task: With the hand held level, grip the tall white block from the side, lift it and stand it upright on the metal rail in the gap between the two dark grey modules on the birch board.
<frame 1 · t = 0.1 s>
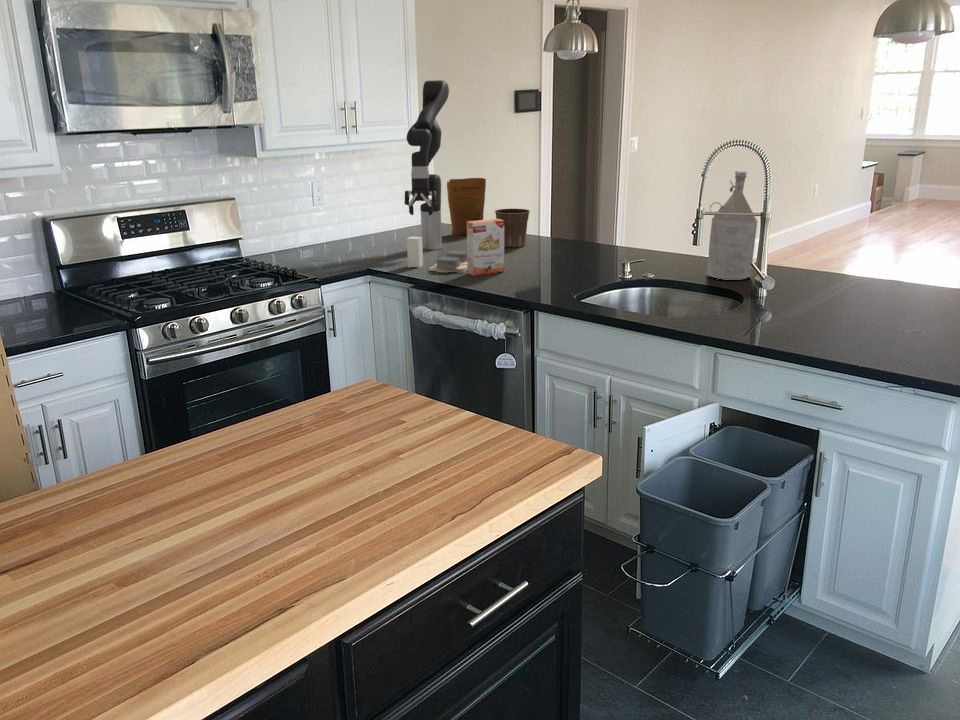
hand: (421, 215, 341), 17 cm above the countertop, tool pointing down, fingers open, 8 cm apart
pancake mix bag: (467, 235, 389), on the countertop
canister: (727, 278, 294), on the countertop
white block: (415, 266, 322), on the countertop
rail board: (453, 267, 319), on the countertop
plant pot: (512, 246, 361), on the countertop
cracker box: (486, 273, 309), on the countertop
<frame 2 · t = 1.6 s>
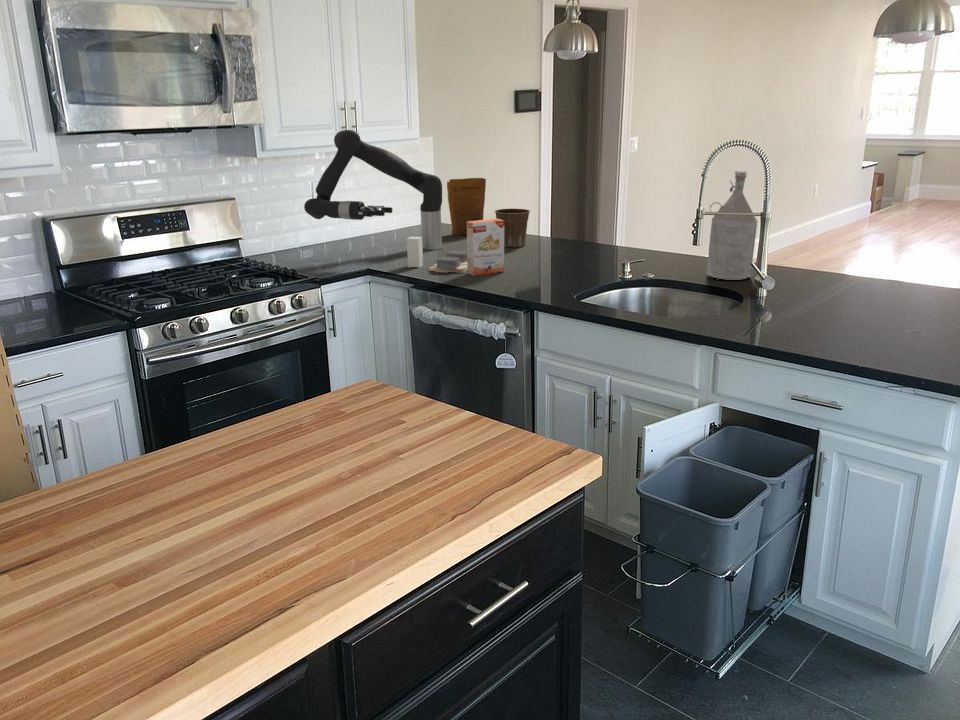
hand: (388, 211, 318), 22 cm above the countertop, tool horizontal, fingers open, 8 cm apart
nothing on the countertop moved.
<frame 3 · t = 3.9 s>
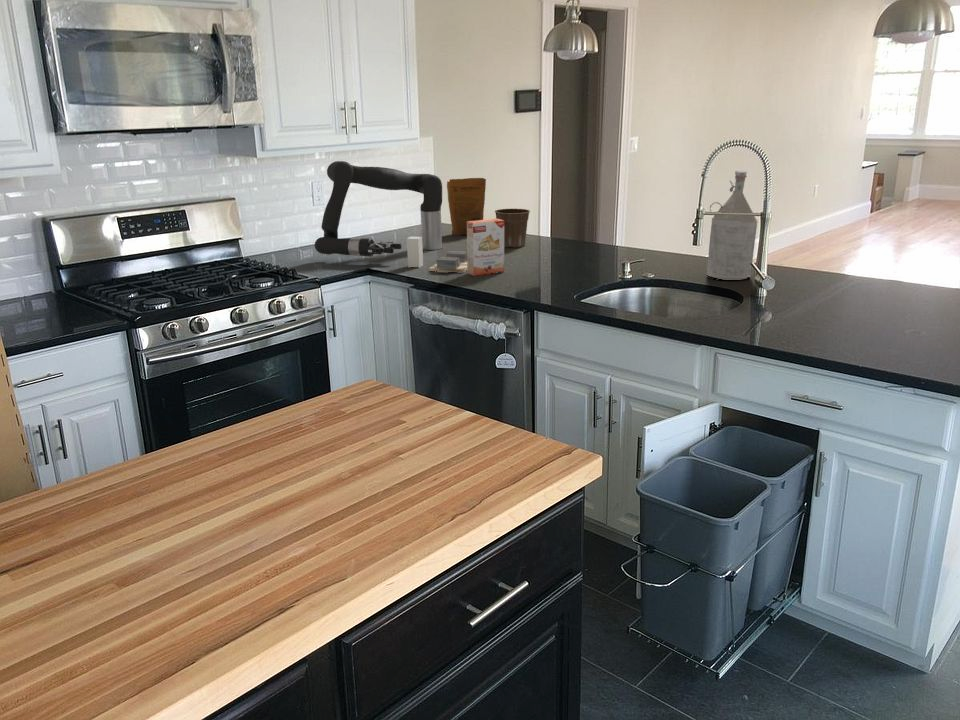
hand: (397, 248, 322), 7 cm above the countertop, tool horizontal, fingers open, 8 cm apart
nothing on the countertop moved.
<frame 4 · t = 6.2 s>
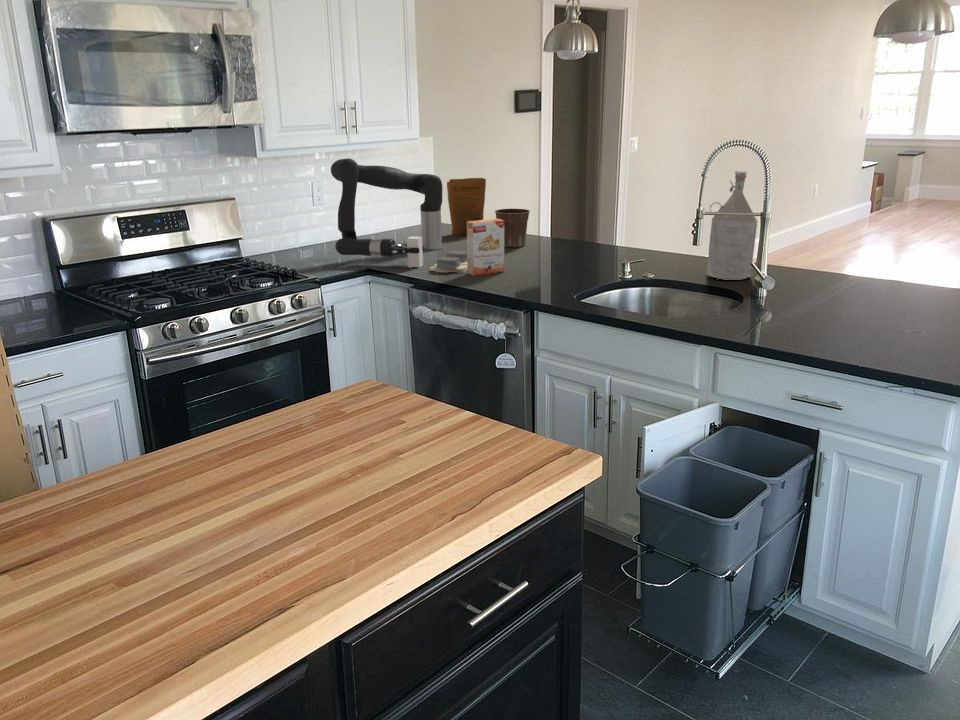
hand: (421, 249, 319), 7 cm above the countertop, tool horizontal, fingers closed on white block, 4 cm apart
white block: (415, 266, 322), on the countertop, touching gripper
everything else where it was.
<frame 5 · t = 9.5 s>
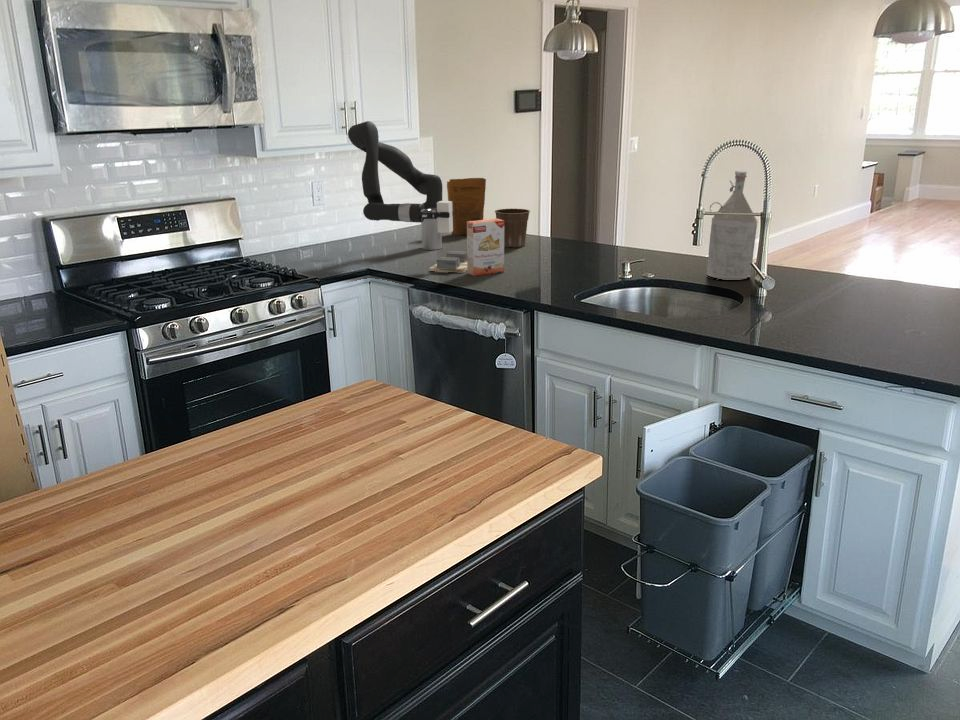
hand: (451, 214, 312), 22 cm above the countertop, tool horizontal, fingers closed on white block, 4 cm apart
white block: (445, 231, 315), point 15 cm above the countertop, touching gripper
everything else where it was.
when the fingers open (11 cm above the countertop, at t = 12.9 s): white block drops 2 cm, resting on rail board.
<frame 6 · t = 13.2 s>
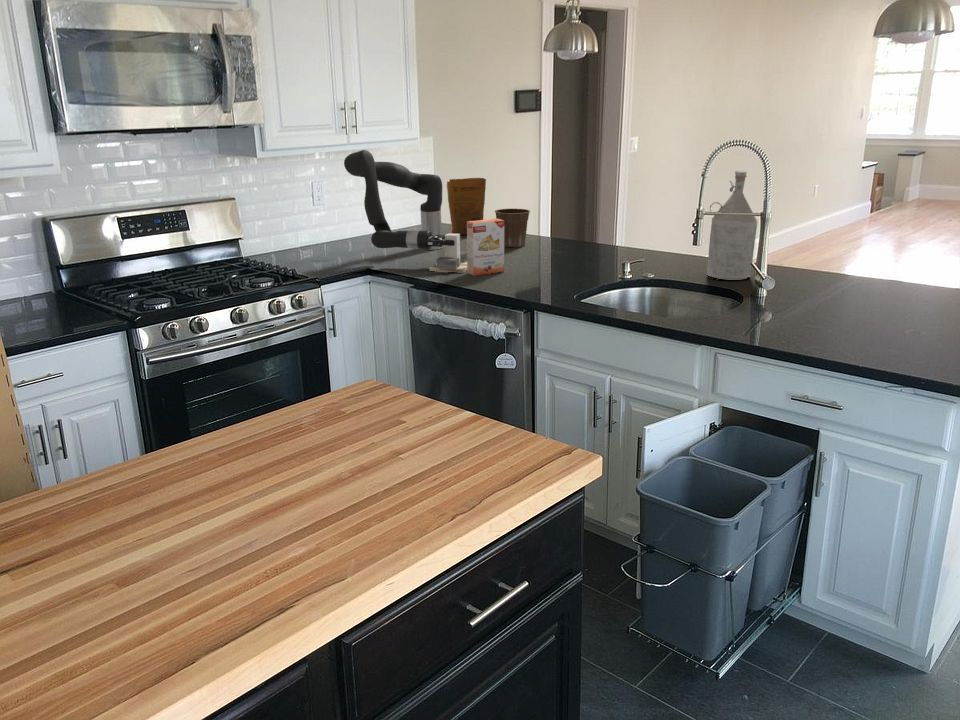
hand: (457, 241, 315), 11 cm above the countertop, tool horizontal, fingers open, 7 cm apart
white block: (452, 263, 319), point 2 cm above the countertop, touching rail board
everything else where it was.
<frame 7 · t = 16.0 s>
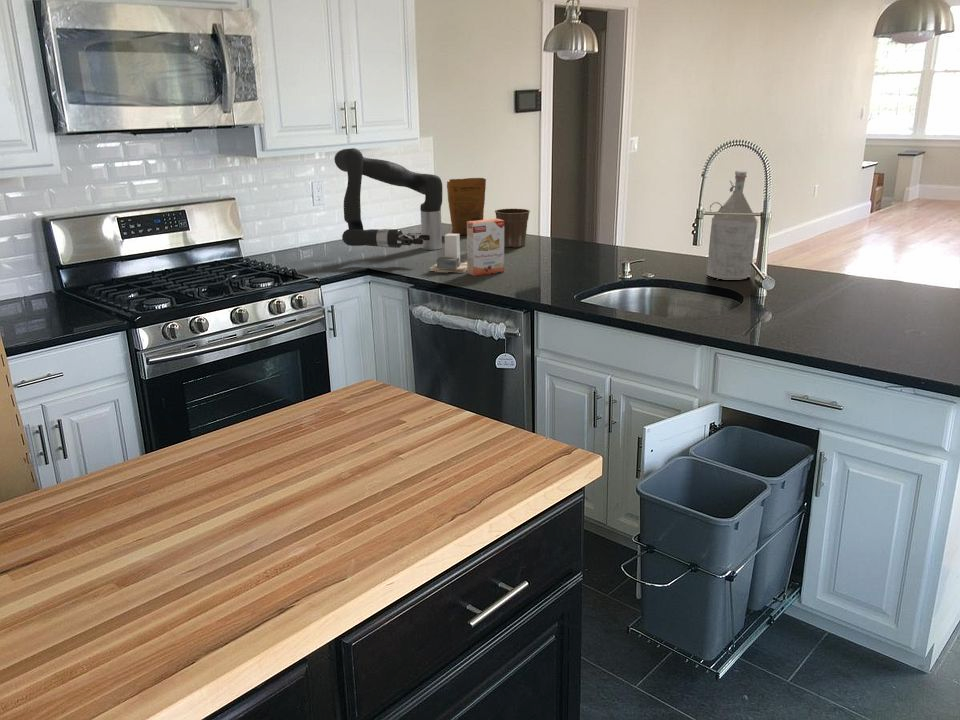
hand: (426, 239, 318), 11 cm above the countertop, tool horizontal, fingers open, 8 cm apart
nothing on the countertop moved.
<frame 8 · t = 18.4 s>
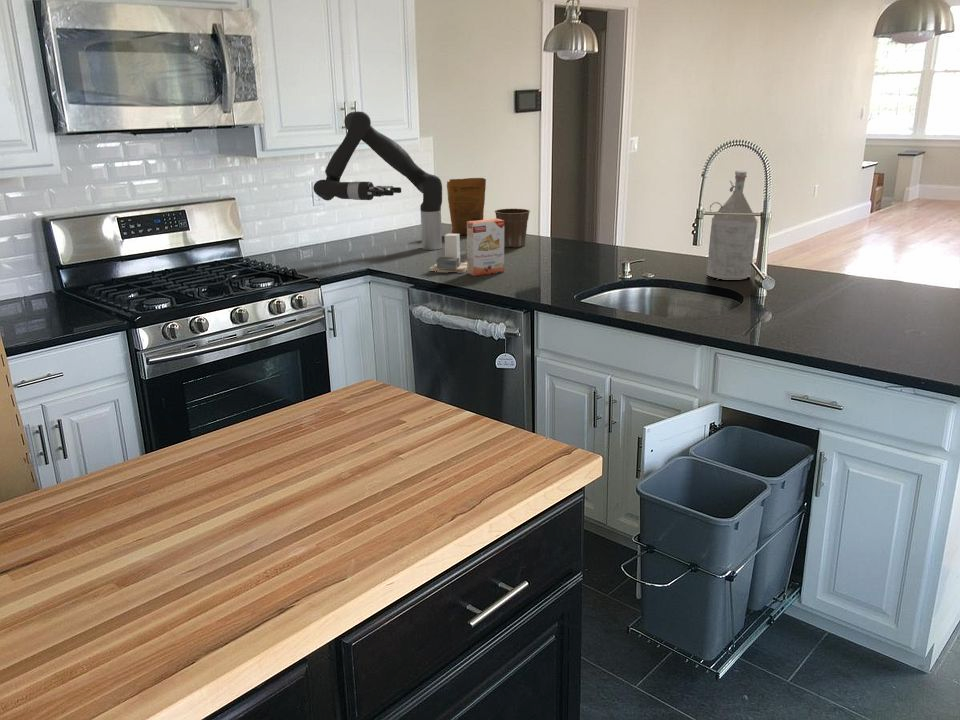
hand: (397, 191, 318), 30 cm above the countertop, tool horizontal, fingers open, 8 cm apart
nothing on the countertop moved.
at the end: white block 0.1 cm off-centre on the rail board, point 1.6 cm above the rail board's base; white block tilted 0°; the gripper is holding nothing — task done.
